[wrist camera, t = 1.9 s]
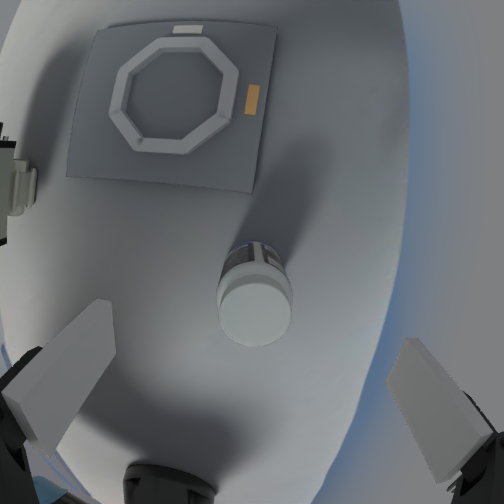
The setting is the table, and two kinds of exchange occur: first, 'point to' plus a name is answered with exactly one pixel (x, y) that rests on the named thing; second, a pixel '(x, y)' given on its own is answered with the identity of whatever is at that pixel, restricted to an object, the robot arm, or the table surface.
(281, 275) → the pill bottle
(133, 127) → the slate board
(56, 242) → the table surface
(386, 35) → the table surface
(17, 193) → the pneumatic valve
